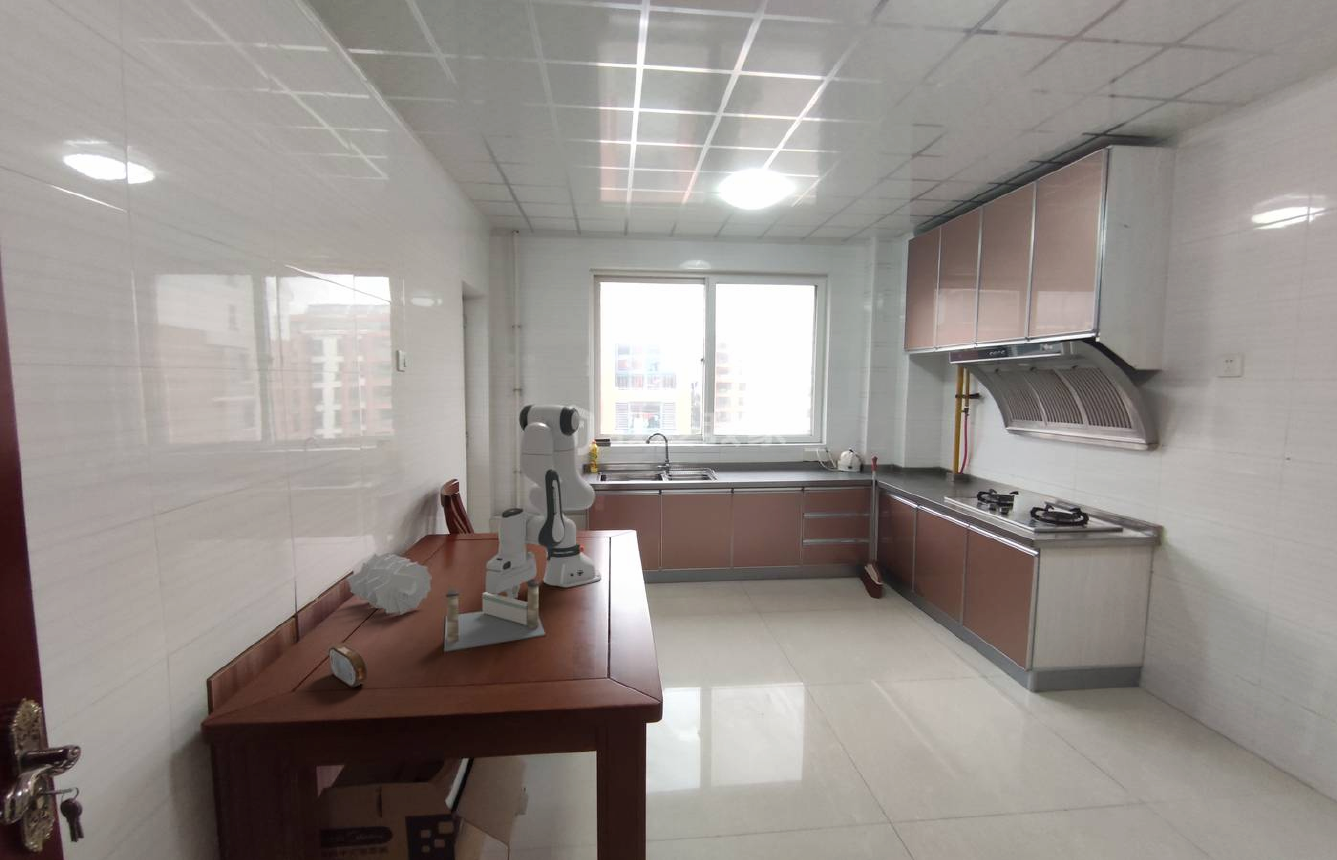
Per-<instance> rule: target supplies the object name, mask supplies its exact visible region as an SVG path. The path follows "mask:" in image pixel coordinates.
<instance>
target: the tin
mask: <svg viewBox="0 0 1337 860" xmlns="http://www.w3.org/2000/svg"><path fill="white" fill-rule="evenodd" d="M328 656H329V666H330V669H331V671H332V673H333V675H334V676H335V677H336V678H337V679H338V680H340V681H341V682H342V683H344V684H345V685H347V686H348V687H350V688H356V687H357V686H360V685H361V684H364V683H366V681H367V678H368V670H367V665H366V663H365V659H364V658H363V656H362V654H361V653H360V652H359V651H358V650H356V649H354V648H353V647H352V646H350V645H348V644H347V643H345V642H340V643H338V644H335V645H334V646H332V647H330V649H329V651H328Z"/></svg>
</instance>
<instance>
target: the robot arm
mask: <svg viewBox="0 0 1337 860" xmlns="http://www.w3.org/2000/svg"><path fill="white" fill-rule="evenodd" d="M518 417H519V419H518V421H519V422H518V423H519V425H520V426H519V427H520V428H521V430H522V431H523V434H522V437H521V445H520V455H519V467H520V470H521V473H522V474H523V475H524V476H525V477H526V478H527V479H528V480H530V481H532V482H533V483H534V484H532V486H531V487H530V489H529V491H528V501H529V503H530V505H531V506H532V507H533V508H534V509H535V510H536V511H538V513H539V514H540V515H538V514H532V513H529V512H527V511H525V510H524V509H523V508H519V507H514V508H509V509H506V510H504V511H503V512H501V515H500V516H499V521H498V522H499V523H498V540H499V546H498V553H497V554H495V555H494V556H493V557H492V558H491V559H490V560H488V561H487V562H486V565H485V566H486V569H488V570H487V571H486V574H485V592H488V593H489V594H493V595H496V594H497V595H499V594H500V593H503V592H505V593H506V595H507V597H509V598H513V599H517V598H518V597H519V595H518V593H519V590H520V588H521V584H524V583H525V582H526V583H527V582H528V581H530V580H534V579H535V578H536V577H537V573H538V572H537V562H536V559H535V557H536V556H535V553H534V552H532V551H528V552H527V546H526V545H527V544H533V545H537V546H541V547H544V548H545V558H546V567H545V573H544V576H543V579H542V580H543V581H542V582H543V583H545V584H547V585H549V586H554V587H555V586H558V587H560V588H570V587H576V586H580V585H585V584H589V583H595V582H599V581H601V580H602V574H601V572H600V571H599V570H597V569H596V566H595V562H594V561H593V560H592V559H591V558H590V557H589V556H587V555H586V554H584V553H583V552H584V551H585V547H584V546H583V545H581V543H578V542H577V526H576V524H575V522H574V521H573V520H572V519H570V518H568V517H566V516H565V514H563V511H580V510H581V511H582V510H587V509H590V508H591V507H592V506H593V504H594V502H595V499H596V492H595V490H594V488H593V486H592V485H591V484H590V483H588V482H587V481H586V480H585V479H584V477H582V476H581V474H580V472H579V470H578V467H577V462H576V461H577V459H576V445H575V444H576V443H575V436H574V434H575V433H576V431H578V429H579V426H580V413H579V411H578V410H577V409H576V407H574V406H571V405H560V404H554V403H553V404H551V403H550V404H537V405H536V404H530V405H529V404H528V405H526V406H524V407H523V408H522V410H521V411H520V413H519V416H518ZM560 480H561V481H560Z"/></svg>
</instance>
